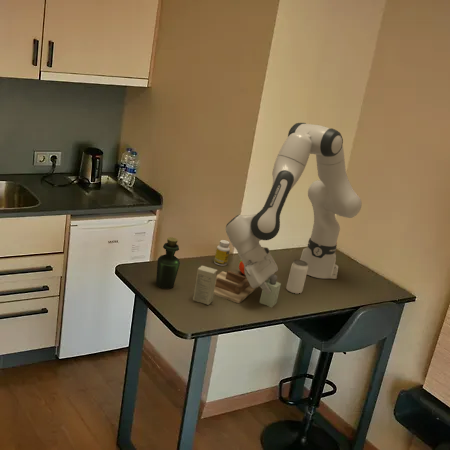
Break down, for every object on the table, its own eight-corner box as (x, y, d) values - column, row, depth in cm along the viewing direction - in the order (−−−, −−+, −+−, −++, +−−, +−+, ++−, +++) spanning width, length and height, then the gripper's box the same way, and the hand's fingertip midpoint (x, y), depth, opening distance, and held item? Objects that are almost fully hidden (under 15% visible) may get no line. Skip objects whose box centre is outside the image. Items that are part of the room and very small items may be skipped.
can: (292, 285, 244) (299, 258, 241) (305, 292, 240) (312, 264, 237) (282, 288, 240) (289, 260, 236) (295, 295, 236) (302, 267, 232)
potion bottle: (178, 290, 220) (186, 244, 215) (156, 289, 217) (164, 243, 212) (172, 280, 227) (180, 235, 222) (151, 279, 224) (158, 234, 219)
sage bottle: (264, 298, 228) (270, 271, 224) (276, 302, 226) (282, 275, 223) (259, 302, 223) (265, 275, 220) (271, 307, 222) (278, 280, 218)
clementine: (239, 277, 242) (243, 261, 239) (232, 270, 247) (235, 254, 245) (257, 277, 245) (260, 261, 243) (249, 270, 251) (253, 254, 249)
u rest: (222, 273, 243) (224, 264, 241) (258, 286, 237) (261, 277, 236) (199, 288, 225) (201, 279, 224) (238, 303, 219) (241, 293, 218)
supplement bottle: (225, 267, 249) (229, 245, 246) (212, 264, 250) (217, 242, 247) (227, 262, 254) (232, 241, 251) (215, 259, 255) (219, 238, 252)
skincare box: (212, 301, 217) (218, 269, 213) (208, 305, 213) (214, 273, 209) (196, 295, 219) (202, 264, 215) (191, 299, 215) (197, 268, 211)
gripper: (249, 261, 212) (269, 295, 212) (269, 246, 230) (288, 278, 230) (235, 268, 215) (255, 302, 215) (256, 254, 233) (274, 285, 233)
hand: (272, 290), depth 223 cm, fingers closed on sage bottle, 5 cm apart
